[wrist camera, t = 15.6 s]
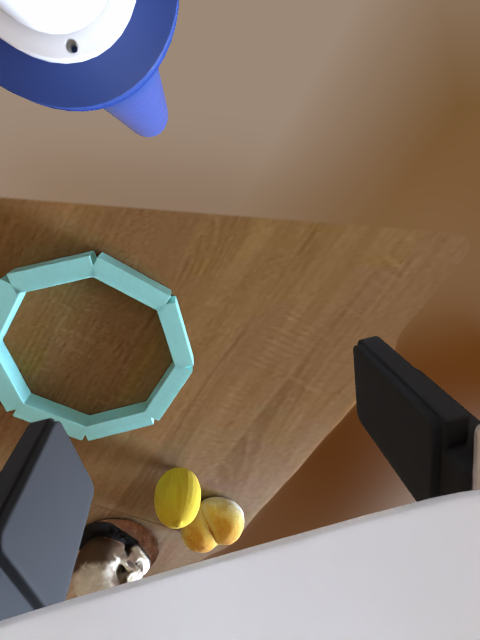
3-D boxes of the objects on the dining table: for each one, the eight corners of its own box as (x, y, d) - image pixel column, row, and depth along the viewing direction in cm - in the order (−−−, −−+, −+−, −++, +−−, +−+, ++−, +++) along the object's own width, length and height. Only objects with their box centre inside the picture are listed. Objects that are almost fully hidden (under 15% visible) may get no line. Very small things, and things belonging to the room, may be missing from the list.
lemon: (179, 446, 45) (179, 501, 37) (207, 469, 47) (212, 524, 40) (147, 471, 45) (140, 528, 38) (176, 492, 48) (175, 550, 40)
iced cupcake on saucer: (181, 546, 50) (142, 635, 44) (145, 529, 58) (107, 603, 52) (117, 510, 45) (63, 605, 39) (86, 496, 52) (37, 574, 47)
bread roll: (247, 524, 52) (252, 550, 49) (188, 541, 52) (189, 569, 48) (235, 485, 49) (239, 511, 45) (172, 504, 48) (171, 531, 45)
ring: (-53, 283, 33) (-67, 290, 31) (158, 235, 34) (157, 239, 32) (38, 442, 41) (32, 455, 39) (206, 400, 42) (207, 410, 41)
